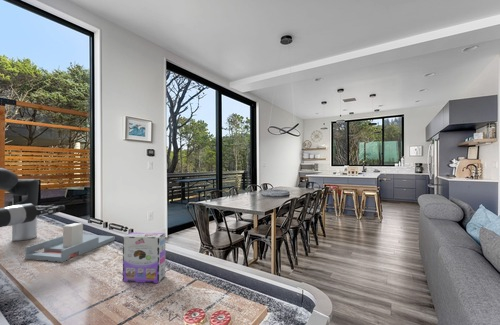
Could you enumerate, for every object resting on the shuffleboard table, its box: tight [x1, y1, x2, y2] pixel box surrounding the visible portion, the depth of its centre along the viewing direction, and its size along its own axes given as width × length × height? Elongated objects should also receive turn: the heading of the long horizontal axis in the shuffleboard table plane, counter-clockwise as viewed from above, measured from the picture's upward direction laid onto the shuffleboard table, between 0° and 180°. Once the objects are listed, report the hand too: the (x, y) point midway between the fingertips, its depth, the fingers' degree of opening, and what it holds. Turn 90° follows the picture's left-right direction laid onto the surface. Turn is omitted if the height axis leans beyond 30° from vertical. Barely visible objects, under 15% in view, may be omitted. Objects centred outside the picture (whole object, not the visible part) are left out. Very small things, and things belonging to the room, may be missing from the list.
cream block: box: [62, 222, 84, 247], centre depth 116 cm, size 6×5×10 cm
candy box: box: [122, 231, 166, 284], centre depth 87 cm, size 14×6×16 cm, turn 84°
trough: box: [24, 233, 116, 263], centre depth 117 cm, size 30×20×5 cm, turn 170°
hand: (59, 207), depth 109 cm, fingers open, 4 cm apart
